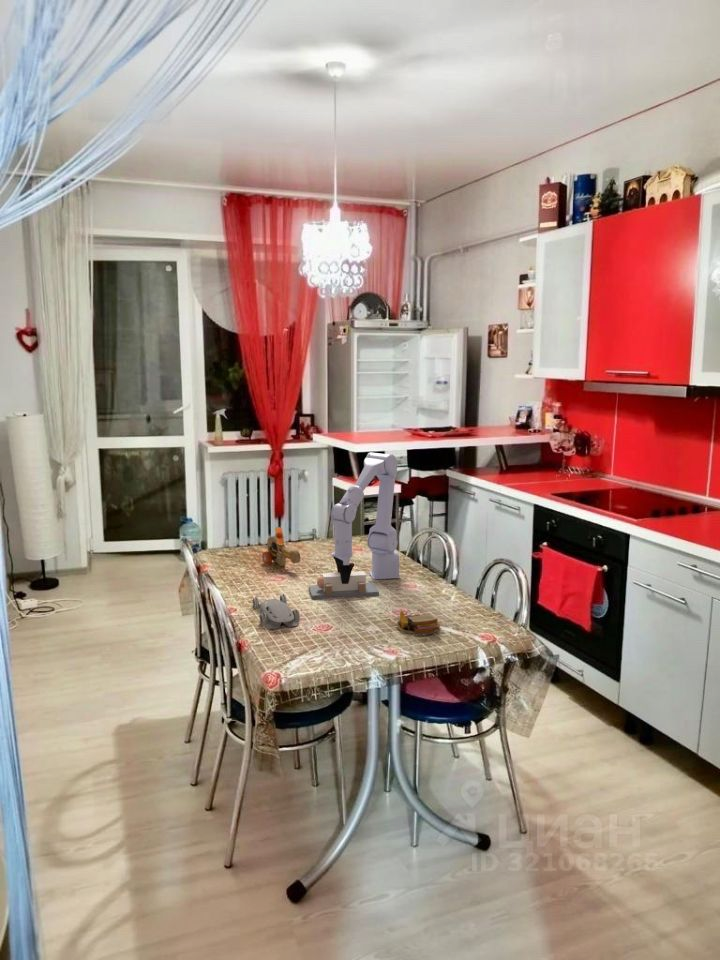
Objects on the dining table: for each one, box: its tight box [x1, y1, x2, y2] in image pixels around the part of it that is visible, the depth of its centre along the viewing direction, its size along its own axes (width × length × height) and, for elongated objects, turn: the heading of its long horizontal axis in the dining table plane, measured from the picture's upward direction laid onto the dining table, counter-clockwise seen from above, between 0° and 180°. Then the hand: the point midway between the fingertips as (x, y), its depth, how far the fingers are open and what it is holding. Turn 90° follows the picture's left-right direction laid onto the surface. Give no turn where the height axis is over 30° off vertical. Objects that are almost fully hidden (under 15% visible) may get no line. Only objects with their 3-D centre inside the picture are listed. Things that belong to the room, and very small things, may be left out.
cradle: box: [308, 581, 380, 600], centre depth 239 cm, size 22×10×4 cm, turn 99°
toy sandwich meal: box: [395, 610, 441, 636], centre depth 208 cm, size 12×14×5 cm
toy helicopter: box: [261, 526, 301, 567], centre depth 267 cm, size 8×21×14 cm, turn 37°
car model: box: [252, 593, 300, 630], centre depth 218 cm, size 11×24×5 cm, turn 19°
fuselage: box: [316, 571, 367, 592], centre depth 239 cm, size 16×4×5 cm, turn 99°
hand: (343, 579), depth 239 cm, fingers open, 7 cm apart
